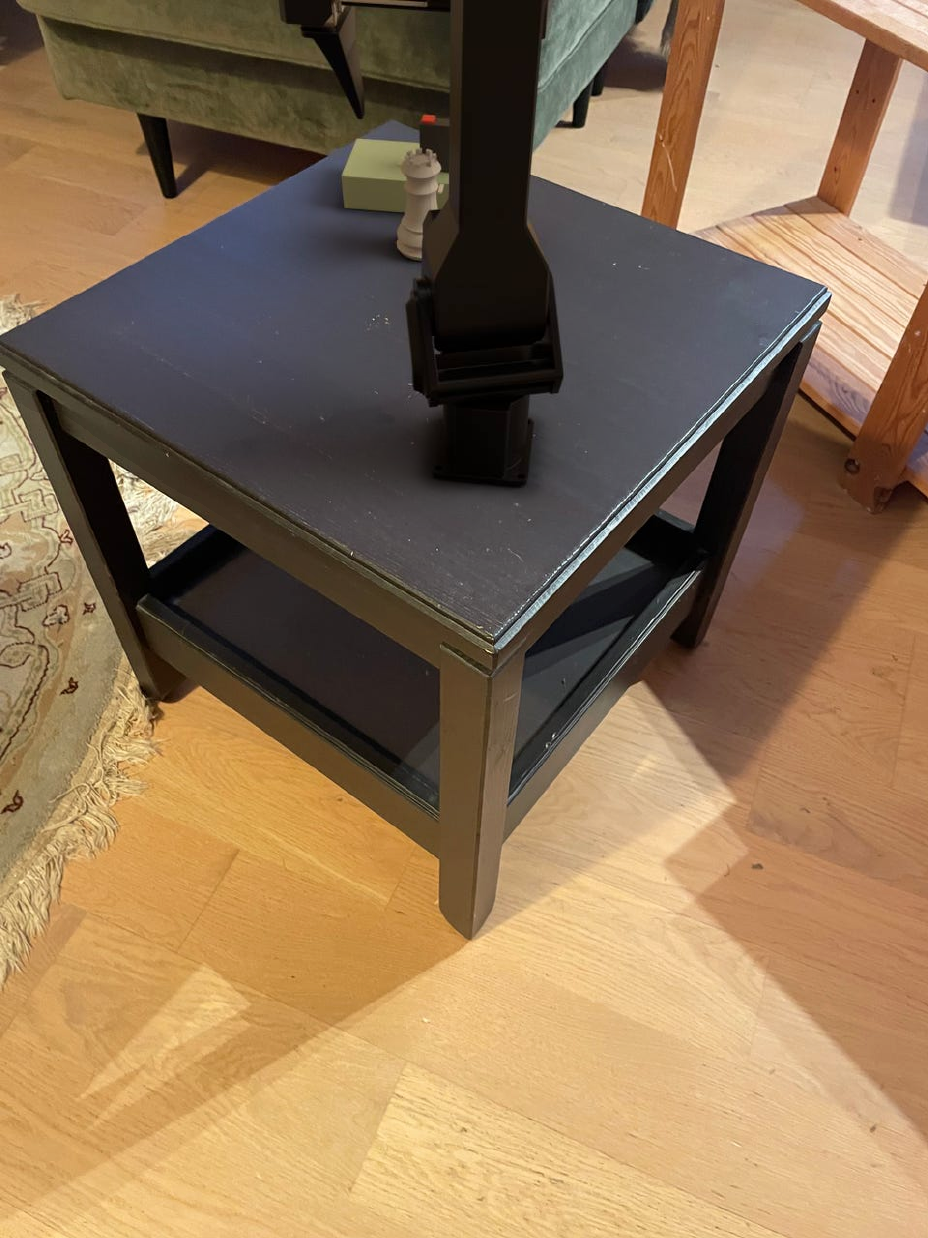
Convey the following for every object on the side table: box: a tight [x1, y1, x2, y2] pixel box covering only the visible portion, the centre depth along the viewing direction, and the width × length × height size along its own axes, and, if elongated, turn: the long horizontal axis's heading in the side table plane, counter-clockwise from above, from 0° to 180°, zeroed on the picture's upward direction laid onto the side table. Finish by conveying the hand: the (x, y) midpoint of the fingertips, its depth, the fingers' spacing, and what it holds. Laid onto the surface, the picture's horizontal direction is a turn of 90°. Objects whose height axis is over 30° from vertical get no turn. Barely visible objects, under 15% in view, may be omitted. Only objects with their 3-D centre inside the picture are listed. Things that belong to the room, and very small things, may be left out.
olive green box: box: [341, 138, 449, 214], centre depth 84 cm, size 9×13×3 cm, turn 83°
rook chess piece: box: [396, 148, 441, 262], centre depth 77 cm, size 4×4×8 cm
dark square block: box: [418, 114, 450, 172], centre depth 81 cm, size 4×1×4 cm, turn 82°
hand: (419, 121), depth 72 cm, fingers open, 9 cm apart
